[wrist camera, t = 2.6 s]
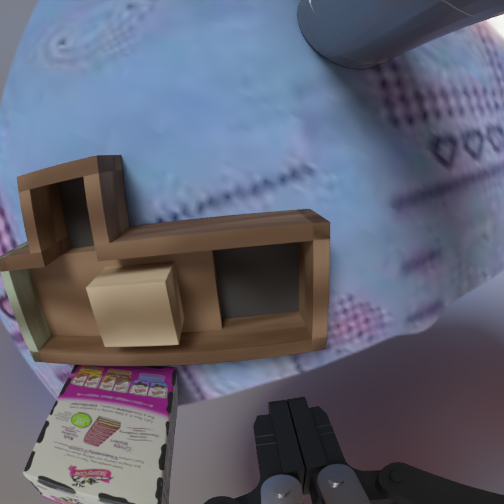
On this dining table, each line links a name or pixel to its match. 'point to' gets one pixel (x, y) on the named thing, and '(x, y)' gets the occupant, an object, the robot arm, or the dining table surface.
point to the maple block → (137, 305)
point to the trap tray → (163, 250)
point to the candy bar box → (108, 437)
